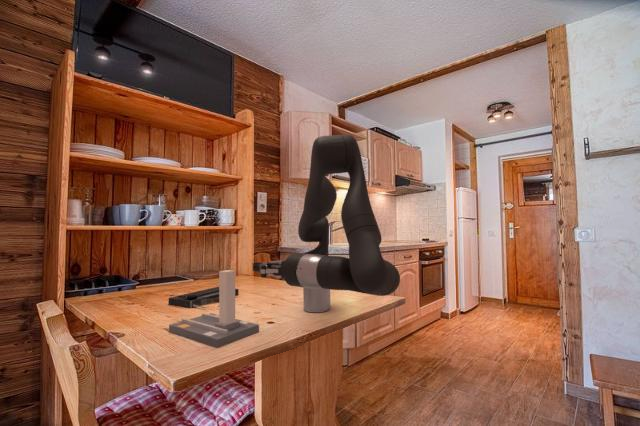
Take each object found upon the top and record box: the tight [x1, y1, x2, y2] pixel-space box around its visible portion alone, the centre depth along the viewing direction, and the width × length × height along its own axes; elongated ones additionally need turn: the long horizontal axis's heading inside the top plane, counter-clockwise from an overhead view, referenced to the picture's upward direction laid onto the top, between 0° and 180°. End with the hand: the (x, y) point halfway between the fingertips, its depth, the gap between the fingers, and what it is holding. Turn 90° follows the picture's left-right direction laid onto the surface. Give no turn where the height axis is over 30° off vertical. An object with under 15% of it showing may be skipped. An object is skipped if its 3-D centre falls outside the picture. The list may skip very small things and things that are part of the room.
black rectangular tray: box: [168, 286, 239, 309], centre depth 127 cm, size 25×4×20 cm
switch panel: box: [168, 312, 260, 349], centre depth 88 cm, size 14×22×3 cm, turn 55°
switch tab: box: [215, 269, 239, 330], centre depth 85 cm, size 5×4×16 cm
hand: (254, 266), depth 79 cm, fingers closed
